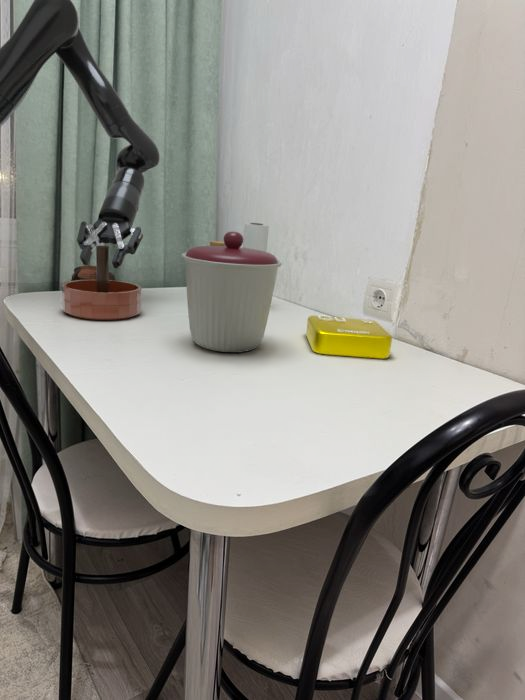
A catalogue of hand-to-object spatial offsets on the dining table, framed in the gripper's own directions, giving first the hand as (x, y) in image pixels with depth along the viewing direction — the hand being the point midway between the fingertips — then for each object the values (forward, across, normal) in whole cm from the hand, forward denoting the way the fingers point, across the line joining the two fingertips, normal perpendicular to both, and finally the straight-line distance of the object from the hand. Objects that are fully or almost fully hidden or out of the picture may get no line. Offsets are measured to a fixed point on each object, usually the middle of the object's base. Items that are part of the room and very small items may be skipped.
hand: (99, 264), depth 108 cm
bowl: (+7, 0, +9) cm, 11 cm away
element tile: (+11, +54, +5) cm, 55 cm away
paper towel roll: (-10, +30, +26) cm, 41 cm away
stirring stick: (+6, 0, +8) cm, 10 cm away
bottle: (-18, +18, +34) cm, 43 cm away
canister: (+17, +30, -2) cm, 35 cm away
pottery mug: (-7, -10, +22) cm, 26 cm away
